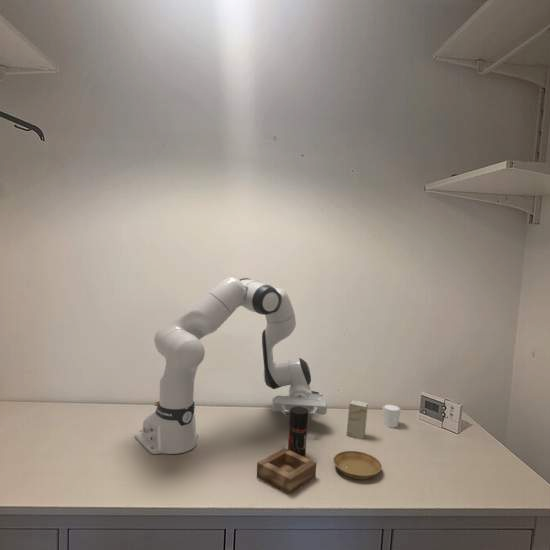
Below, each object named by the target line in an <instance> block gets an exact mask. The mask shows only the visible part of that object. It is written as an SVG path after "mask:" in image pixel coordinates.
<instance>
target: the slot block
mask: <svg viewBox="0 0 550 550" xmlns="http://www.w3.org/2000/svg"><path fill="white" fill-rule="evenodd" d="M316 475H317V462H316V461H313V460H312V459H309V458H307V457H306V456H305V457H303V456H301V455H299V454H296V453H294V452H292V451H290V450H288V448H285V447H283V448H281V449H279V450H277V451H275V452H273V453H272V454H270V455H268V456H266V457H264V458H263V459H261V460H260V461H259V460H258V461H257V464H256V478H258V479H260V480H261V481H264V482H265V483H267V484H268V485H270V486H273V487H274V488H276V489H278V490H280V491H282V492H283V493H286V494H288V495H289V496H291V495H292V494H293V493H295V492H296V491H298V490H299V489H301V488H302V487H304V485H307V484H308V483H309V482H310V481H312V480H313V479H315V478H316V477H317V476H316Z"/></svg>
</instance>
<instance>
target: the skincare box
mask: <svg viewBox="0 0 550 550" xmlns="http://www.w3.org/2000/svg"><path fill="white" fill-rule="evenodd" d="M368 405H369V403H368V402H364V401H360V400H353V399H351V400H350V402H349V405H348V416H347V426H346V436H349V437H352V438H357V439H361V440H363V439H364V438H365V436H366V430H367V429H366V427H367V417H368V408H369V406H368Z"/></svg>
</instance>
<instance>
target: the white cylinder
mask: <svg viewBox="0 0 550 550" xmlns="http://www.w3.org/2000/svg"><path fill="white" fill-rule="evenodd" d="M400 413H401V407H400V406H398V405H396V404H390V403H389V404H383V405H382V424H384V425H385V426H384V425H383V426H384V427H386V426H388V427H387V428H390V427H396V428H398V425H399V420H400Z"/></svg>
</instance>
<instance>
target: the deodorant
mask: <svg viewBox="0 0 550 550" xmlns="http://www.w3.org/2000/svg"><path fill="white" fill-rule="evenodd" d="M308 420H309V414H308V409H306V408H304V407H292V408H291V409H290V412H289V420H288V421H289V423H288V443H287V449H288V450H290V451H292V452H294V453H296V454H299V455H301V456H303V457H305V458H306V452H307V439H308V438H307V437H308V436H307V435H308V422H309V421H308Z"/></svg>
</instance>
